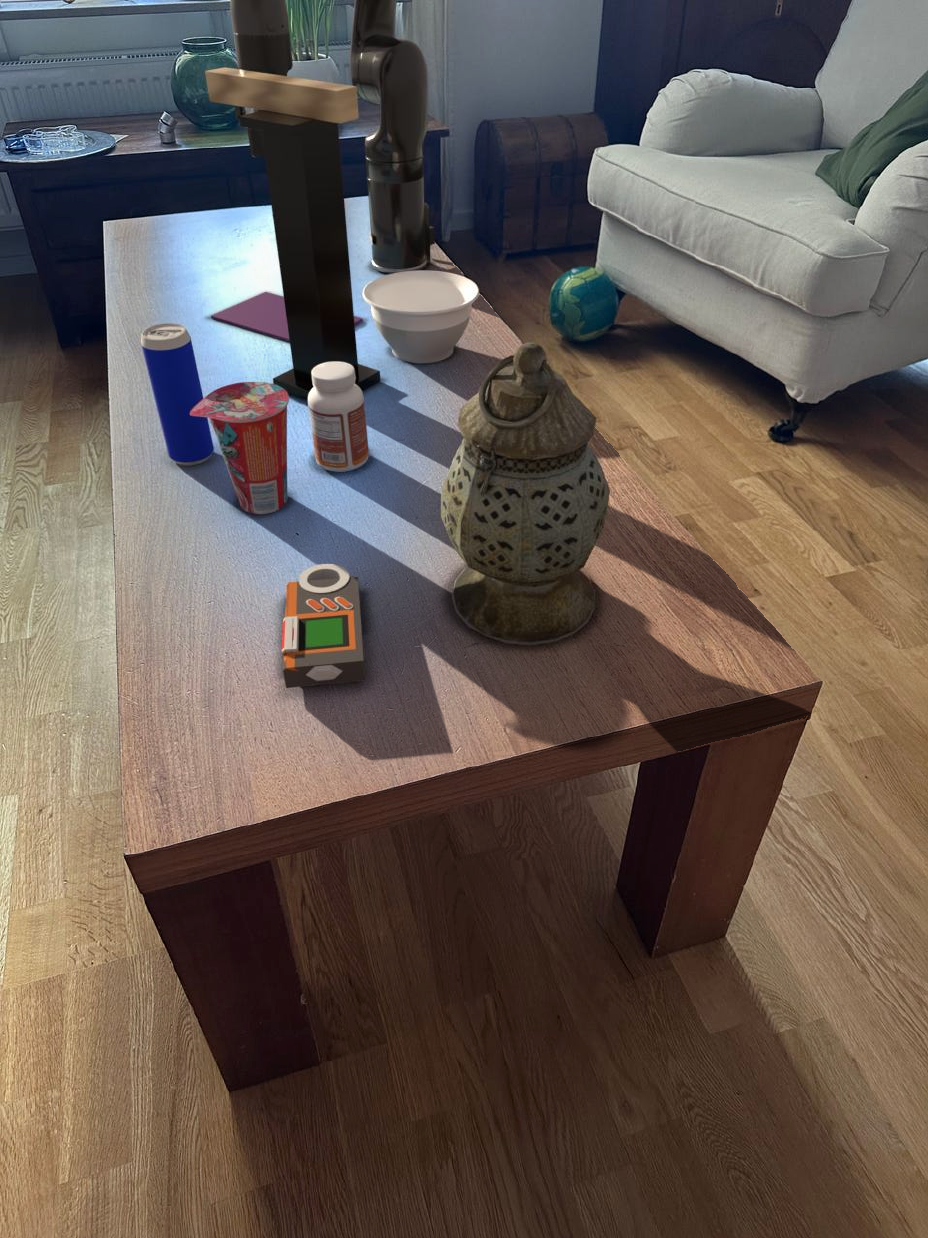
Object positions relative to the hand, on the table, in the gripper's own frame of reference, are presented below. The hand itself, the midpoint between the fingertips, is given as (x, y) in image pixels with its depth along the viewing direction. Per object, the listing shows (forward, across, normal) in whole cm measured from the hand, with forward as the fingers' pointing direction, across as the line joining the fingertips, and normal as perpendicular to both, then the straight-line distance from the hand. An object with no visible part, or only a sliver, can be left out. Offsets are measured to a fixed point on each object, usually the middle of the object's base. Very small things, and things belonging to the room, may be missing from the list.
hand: (276, 161), depth 129 cm
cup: (+20, -46, +40) cm, 64 cm away
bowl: (+20, -30, 0) cm, 36 cm away
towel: (+20, -8, +6) cm, 22 cm away
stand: (+20, -29, +16) cm, 39 cm away
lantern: (+20, -78, +33) cm, 87 cm away
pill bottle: (+20, -46, +28) cm, 57 cm away
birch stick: (-12, -27, +17) cm, 34 cm away
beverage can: (+21, -32, +39) cm, 55 cm away
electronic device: (+21, -68, +48) cm, 86 cm away
